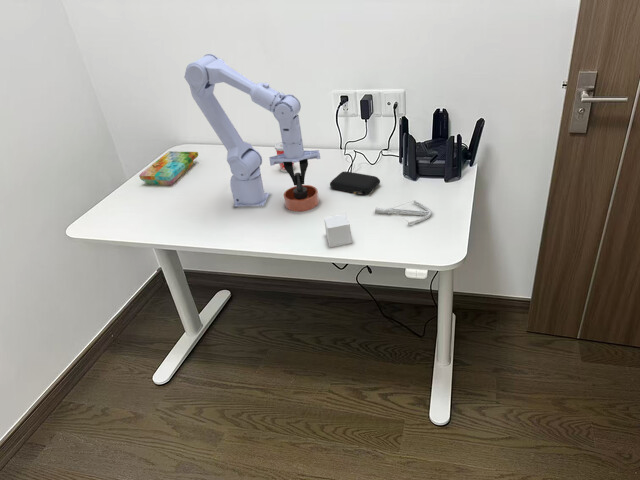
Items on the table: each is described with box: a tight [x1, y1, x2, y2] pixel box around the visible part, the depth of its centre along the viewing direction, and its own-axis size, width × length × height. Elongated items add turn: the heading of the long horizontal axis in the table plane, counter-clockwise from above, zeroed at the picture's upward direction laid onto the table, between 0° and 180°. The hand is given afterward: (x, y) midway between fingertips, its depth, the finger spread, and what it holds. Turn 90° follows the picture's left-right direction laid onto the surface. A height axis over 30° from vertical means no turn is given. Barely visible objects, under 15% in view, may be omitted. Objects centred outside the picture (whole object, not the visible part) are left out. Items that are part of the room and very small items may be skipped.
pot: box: [283, 184, 320, 213], centre depth 164 cm, size 10×10×4 cm
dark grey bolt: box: [293, 172, 308, 200], centre depth 162 cm, size 4×4×8 cm
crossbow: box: [374, 199, 432, 226], centre depth 156 cm, size 16×13×2 cm
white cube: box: [323, 213, 353, 248], centre depth 146 cm, size 6×6×6 cm
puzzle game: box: [139, 150, 199, 186], centre depth 191 cm, size 12×5×20 cm
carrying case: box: [329, 171, 381, 196], centre depth 171 cm, size 11×3×15 cm
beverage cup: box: [273, 141, 295, 173], centre depth 183 cm, size 6×6×14 cm
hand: (298, 183), depth 161 cm, fingers closed on dark grey bolt, 2 cm apart
